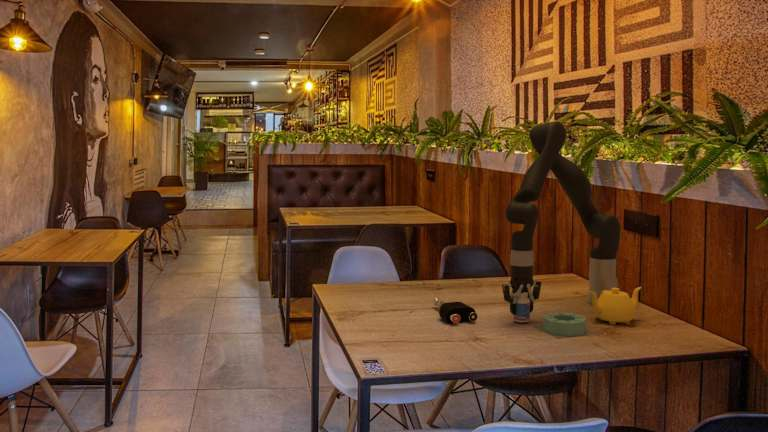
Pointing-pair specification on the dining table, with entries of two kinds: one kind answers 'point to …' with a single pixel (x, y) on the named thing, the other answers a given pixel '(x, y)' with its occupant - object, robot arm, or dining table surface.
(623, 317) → the teapot
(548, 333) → the felt mat
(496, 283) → the dining table surface
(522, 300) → the pill bottle
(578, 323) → the green faceted planter
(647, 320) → the dining table surface
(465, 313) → the audio adapter
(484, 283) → the dining table surface
